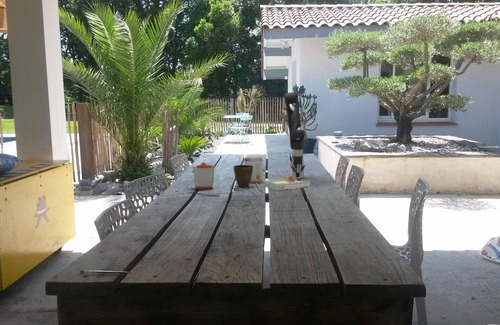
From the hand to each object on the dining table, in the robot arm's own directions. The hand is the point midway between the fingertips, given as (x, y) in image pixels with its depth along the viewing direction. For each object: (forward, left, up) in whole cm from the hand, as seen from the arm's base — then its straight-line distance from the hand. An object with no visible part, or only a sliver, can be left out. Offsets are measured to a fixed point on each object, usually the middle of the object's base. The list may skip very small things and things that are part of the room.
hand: (297, 177), depth 378 cm
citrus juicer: (+71, -21, -6) cm, 75 cm away
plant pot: (+42, -11, -6) cm, 44 cm away
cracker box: (+25, -25, -6) cm, 36 cm away
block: (+7, 0, -3) cm, 8 cm away
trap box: (+13, +5, -6) cm, 15 cm away
